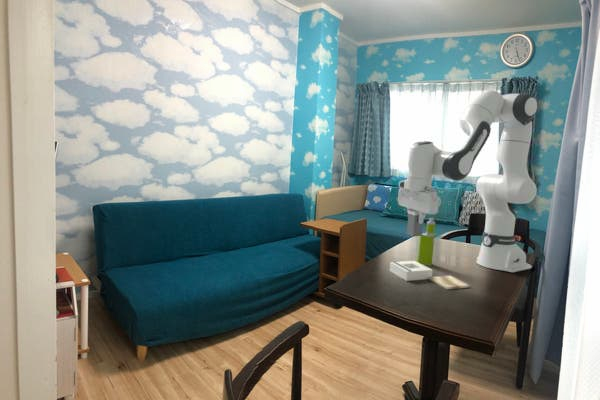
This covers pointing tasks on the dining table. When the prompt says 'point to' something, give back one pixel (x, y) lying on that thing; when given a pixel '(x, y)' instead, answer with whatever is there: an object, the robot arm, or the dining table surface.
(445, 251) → the dining table surface
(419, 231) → the plug
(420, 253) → the vape
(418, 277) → the white flat square piece
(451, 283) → the coaster
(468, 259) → the dining table surface
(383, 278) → the dining table surface
